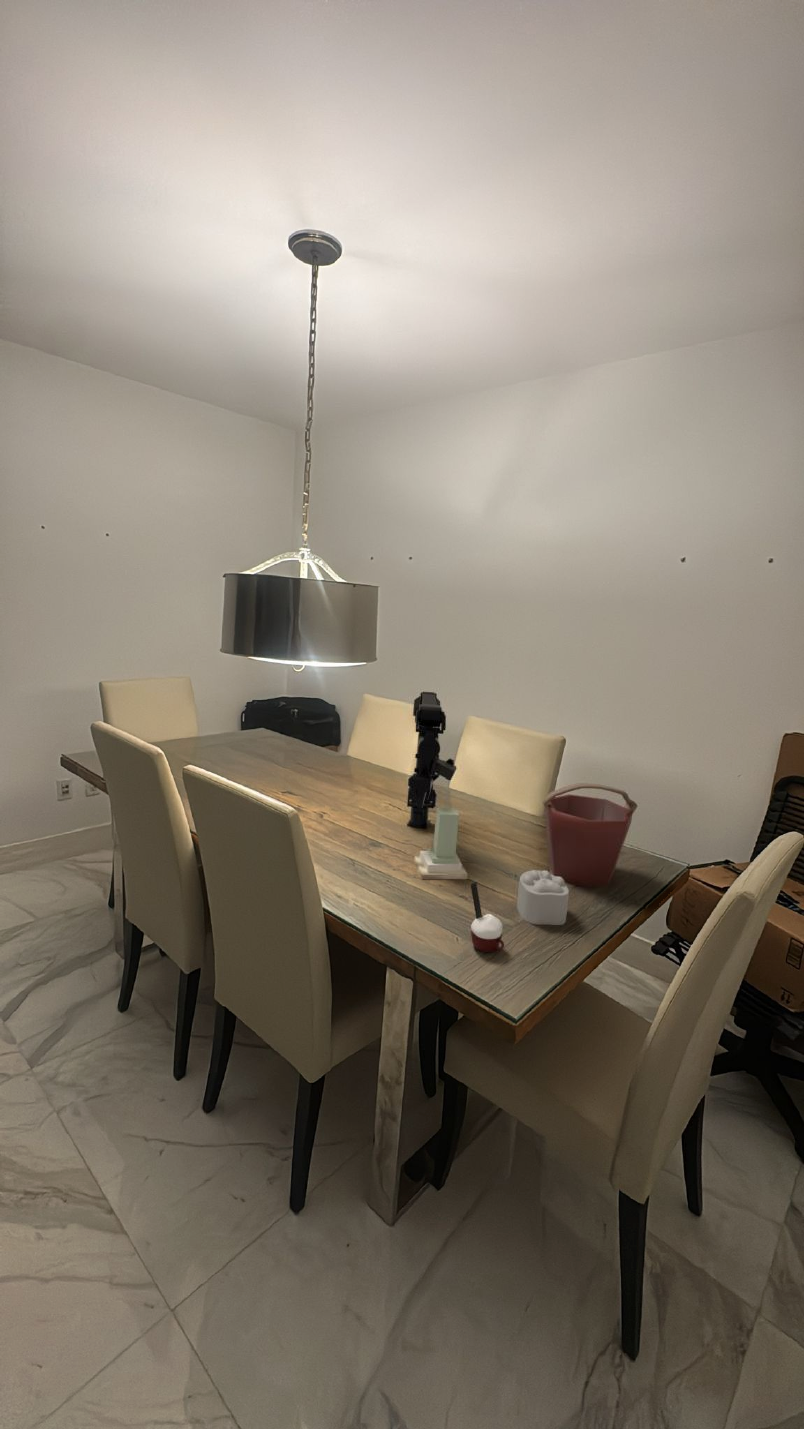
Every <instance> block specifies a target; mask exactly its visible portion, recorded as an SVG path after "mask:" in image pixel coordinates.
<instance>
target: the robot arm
mask: <svg viewBox="0 0 804 1429" xmlns="http://www.w3.org/2000/svg"><path fill="white" fill-rule="evenodd" d="M412 709H413V710H412V711H413V712H412V717H414V723H415V733H417V734H418V735H417V749H416V754H415V755H414V759H416V763H415V767H414V770H413V774H412V775H410V777H408V778H407V780H408V781H407V786H408V789H407V798H406V799H407V800H406V807H407V808H409V807H410V816H409V818H410V819H409V820H408V822H407V823H406V826H408V827H415V828H421V829H422V828H423V829H428V827H429V825H430V824H431V820H429V812H430V811H429V810H430V809H434V808H435V807H436V803H437V797H438V795H437V793H436V790H435V789H434V781H436V780H437V779H439V777H440V776H441V777H443V778H445V779H446V780H447V781H452V779H453V777H454V775H455V772H456V771H457V766H456V765H455V759H453V758H451V757H450V758H448V759H447V760H443V759H440V752H441V746H440V741H439V738H440V737H439V736H440V734H441V735H444V731H446V728H447V727H446V726H447V724H446V723H447V720H446V719H447V716H446V713H445V711H443V708H442V706H441V701H440V700H439V698H438V697H437V693H436V692H434V691H422V692H421V691H420V695H419V696H418V697H416V698H415V699H414V700H413V708H412Z"/></svg>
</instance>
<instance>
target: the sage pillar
mask: <svg viewBox="0 0 804 1429" xmlns="http://www.w3.org/2000/svg"><path fill="white" fill-rule="evenodd" d="M459 819H460V813H459V812H458V811H457V808H456V807H444V806H443V807H442V806H441V807H440V806H439V807H437V806H436V810H435V823H434V834H433V835H434V836H433V845H432V846H430V847H429V846H428V849H427V851H428V852H429V855H430V858H431V860H432V863H453V864H459V860H460V857H459V855H458V853H457V851H456V849H457V840H458V831H459Z"/></svg>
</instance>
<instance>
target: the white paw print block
mask: <svg viewBox="0 0 804 1429" xmlns="http://www.w3.org/2000/svg"><path fill="white" fill-rule="evenodd" d="M565 882H566V881H564V880H563V878H562V877H559V876H558V877H557V876H554V875H553V874H551V873H550V872H549V871H548V870H536V869H532V870H528V871H524V872H523V873H522V874H521V875H520V877H519V882H518V890H517V898H516V899H517V900H516V909H517V911H518V913H519V914H520V916H521V917H522V918H523V920H524V921H526V922H528V923H530V924H531V925H532V924H533V925H552V926H553V925H554V926H562V925H564V924H565V923H566V920H567V914H568V913H567V911H568V905H569V897H570V890H569V888H568V886H567V885H566V883H565Z"/></svg>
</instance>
